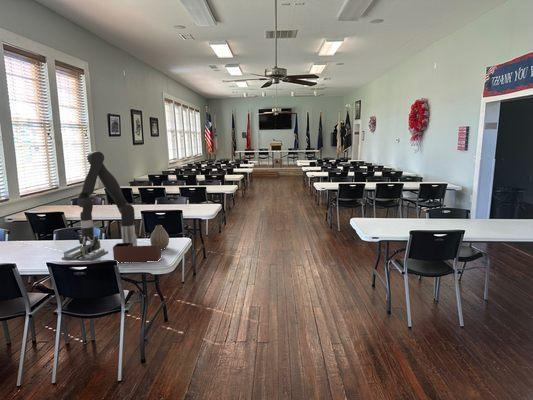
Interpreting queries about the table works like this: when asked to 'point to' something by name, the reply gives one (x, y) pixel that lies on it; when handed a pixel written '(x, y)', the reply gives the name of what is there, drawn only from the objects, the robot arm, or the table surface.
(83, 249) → the handheld radio
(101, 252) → the vise bed
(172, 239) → the table surface
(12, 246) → the table surface
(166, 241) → the vase
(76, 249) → the sliding jaw
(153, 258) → the desk organizer
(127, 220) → the robot arm
